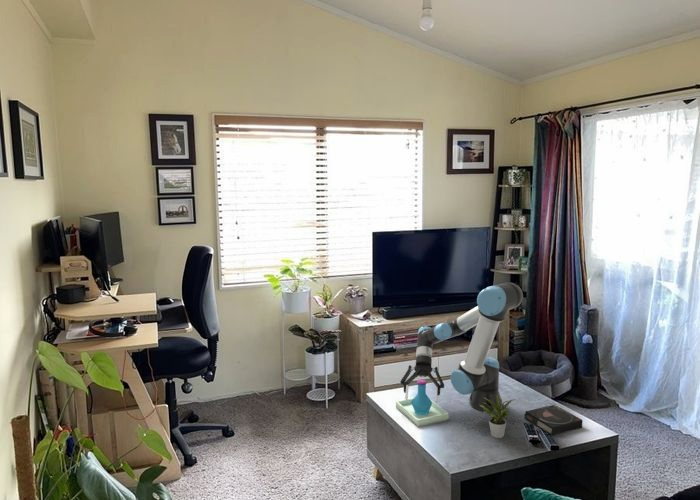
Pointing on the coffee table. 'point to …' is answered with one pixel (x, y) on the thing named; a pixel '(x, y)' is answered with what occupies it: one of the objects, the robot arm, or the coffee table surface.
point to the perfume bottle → (421, 399)
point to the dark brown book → (553, 419)
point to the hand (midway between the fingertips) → (421, 400)
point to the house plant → (497, 418)
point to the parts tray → (433, 416)
